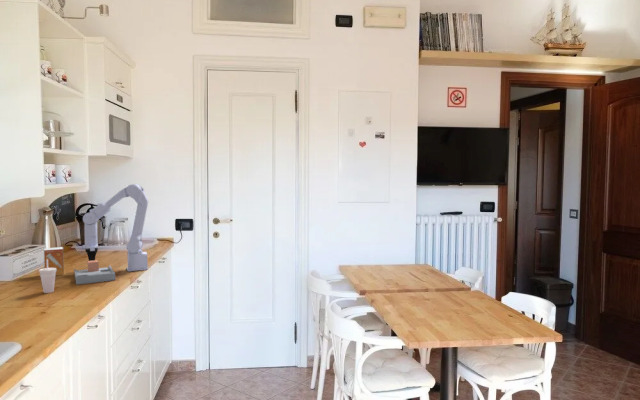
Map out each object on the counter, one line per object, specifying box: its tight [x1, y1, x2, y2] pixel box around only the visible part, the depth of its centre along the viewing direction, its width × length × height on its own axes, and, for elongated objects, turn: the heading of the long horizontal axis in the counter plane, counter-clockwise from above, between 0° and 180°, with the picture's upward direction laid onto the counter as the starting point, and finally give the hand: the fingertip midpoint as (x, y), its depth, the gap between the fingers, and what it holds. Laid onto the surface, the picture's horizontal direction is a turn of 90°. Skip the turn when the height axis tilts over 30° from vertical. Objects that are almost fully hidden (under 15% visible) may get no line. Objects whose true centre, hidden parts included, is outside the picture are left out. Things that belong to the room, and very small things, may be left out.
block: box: [87, 259, 100, 272], centre depth 217 cm, size 4×4×4 cm
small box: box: [43, 246, 65, 277], centre depth 216 cm, size 8×6×13 cm
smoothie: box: [38, 259, 57, 294], centre depth 186 cm, size 6×6×14 cm
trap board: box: [73, 265, 116, 285], centre depth 211 cm, size 16×22×3 cm
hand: (91, 262), depth 223 cm, fingers closed
